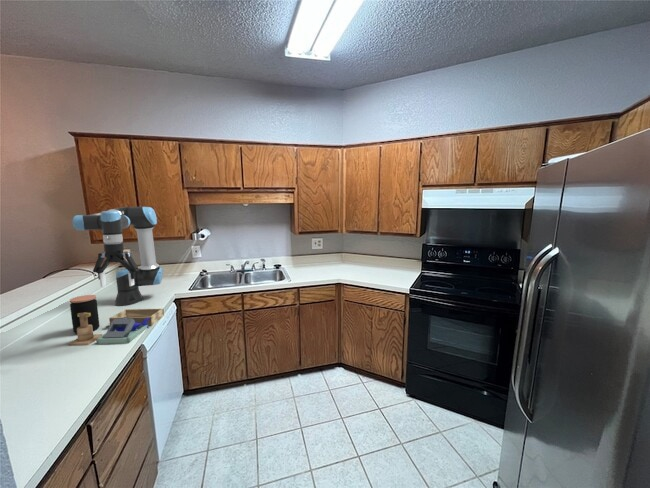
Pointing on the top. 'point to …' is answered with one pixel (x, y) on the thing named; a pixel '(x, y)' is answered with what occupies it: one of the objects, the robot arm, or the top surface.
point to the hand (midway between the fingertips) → (117, 285)
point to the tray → (130, 337)
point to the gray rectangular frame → (120, 323)
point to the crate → (140, 315)
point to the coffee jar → (84, 305)
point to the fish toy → (134, 326)
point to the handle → (84, 331)
